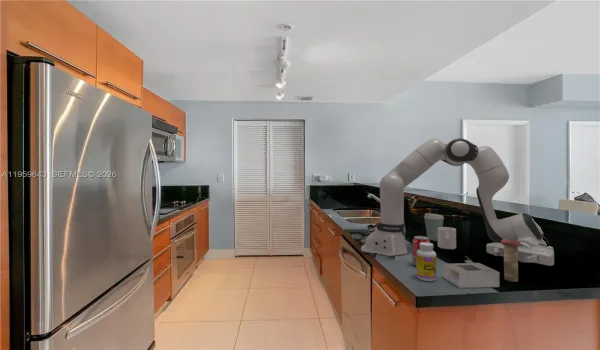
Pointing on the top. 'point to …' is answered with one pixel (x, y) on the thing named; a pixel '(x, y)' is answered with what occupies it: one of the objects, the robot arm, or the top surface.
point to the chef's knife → (468, 260)
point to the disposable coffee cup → (433, 225)
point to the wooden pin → (511, 259)
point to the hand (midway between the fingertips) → (510, 256)
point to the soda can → (416, 246)
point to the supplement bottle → (426, 262)
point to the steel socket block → (471, 275)
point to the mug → (446, 237)
